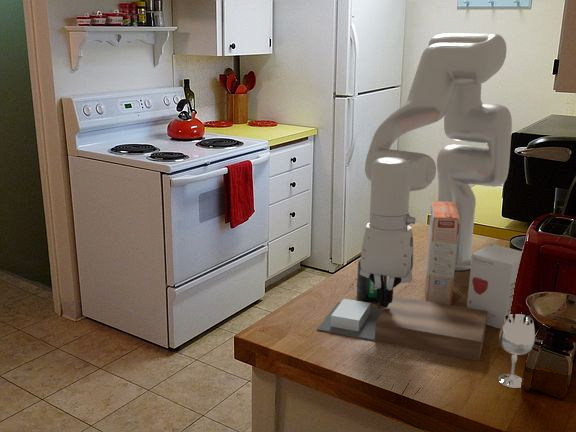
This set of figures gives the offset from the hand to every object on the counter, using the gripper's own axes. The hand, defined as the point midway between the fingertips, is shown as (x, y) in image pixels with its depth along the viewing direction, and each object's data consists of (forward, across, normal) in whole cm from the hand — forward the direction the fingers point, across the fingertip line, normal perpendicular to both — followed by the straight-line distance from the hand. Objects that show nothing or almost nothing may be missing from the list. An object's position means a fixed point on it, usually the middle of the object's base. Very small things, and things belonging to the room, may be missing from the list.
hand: (384, 304), depth 126 cm
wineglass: (+5, -26, +12) cm, 29 cm away
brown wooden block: (+5, -10, 0) cm, 11 cm away
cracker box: (+5, -8, -21) cm, 23 cm away
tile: (+2, +7, 0) cm, 7 cm away
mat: (+5, +6, 0) cm, 8 cm away
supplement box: (+5, -21, -13) cm, 25 cm away
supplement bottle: (+5, +6, -13) cm, 15 cm away
